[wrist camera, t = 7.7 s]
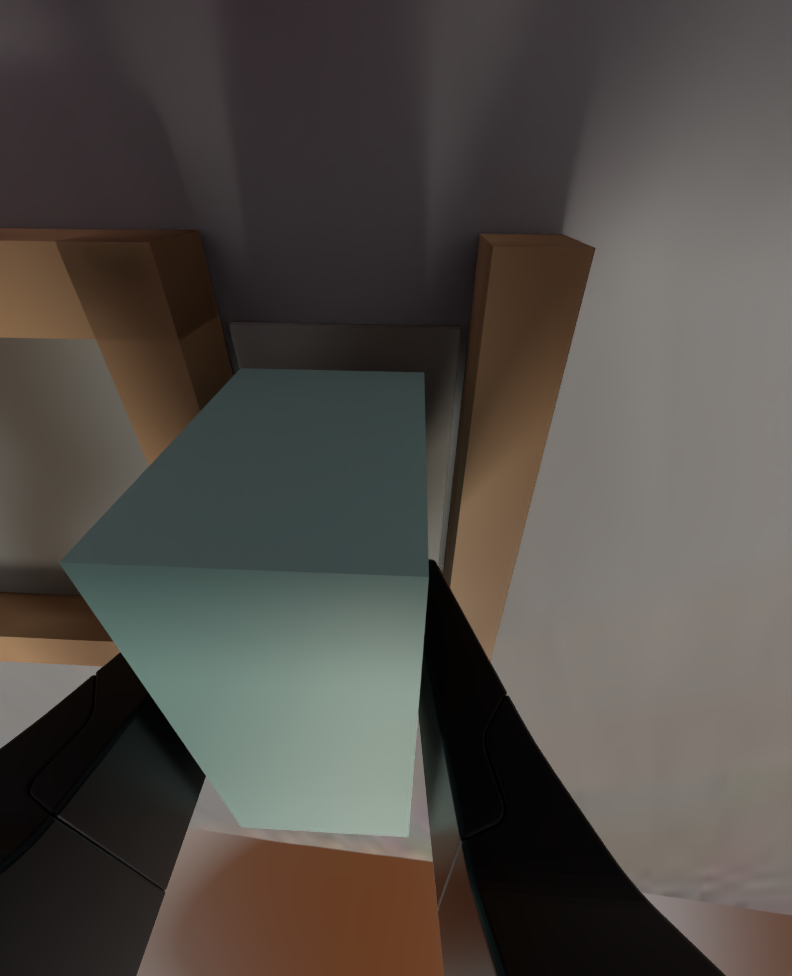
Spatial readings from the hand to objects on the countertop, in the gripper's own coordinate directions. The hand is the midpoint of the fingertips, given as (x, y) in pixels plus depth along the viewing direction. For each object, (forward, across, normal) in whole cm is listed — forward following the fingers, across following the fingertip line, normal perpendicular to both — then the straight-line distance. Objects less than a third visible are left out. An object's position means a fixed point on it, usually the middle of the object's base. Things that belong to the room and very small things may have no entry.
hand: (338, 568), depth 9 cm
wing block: (+1, 0, 0) cm, 1 cm away
